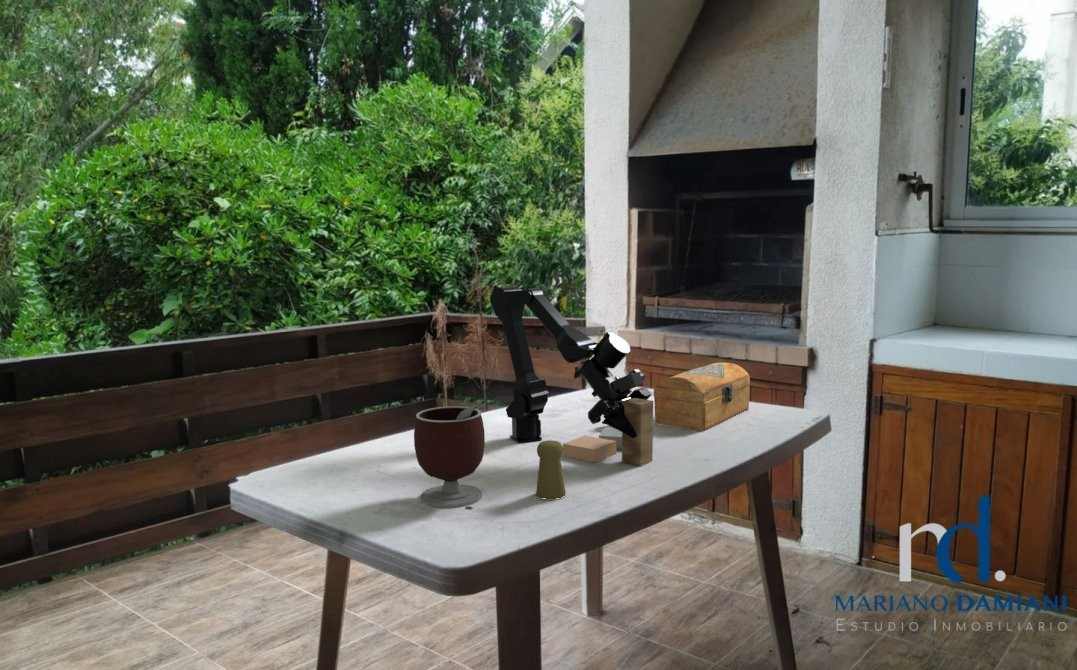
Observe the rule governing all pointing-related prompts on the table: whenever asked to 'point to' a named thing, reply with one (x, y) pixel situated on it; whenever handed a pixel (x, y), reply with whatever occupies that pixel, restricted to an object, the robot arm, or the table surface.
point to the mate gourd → (449, 452)
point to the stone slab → (612, 436)
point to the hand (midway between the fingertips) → (642, 434)
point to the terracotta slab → (589, 448)
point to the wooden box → (702, 396)
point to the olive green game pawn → (550, 470)
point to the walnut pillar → (638, 432)
